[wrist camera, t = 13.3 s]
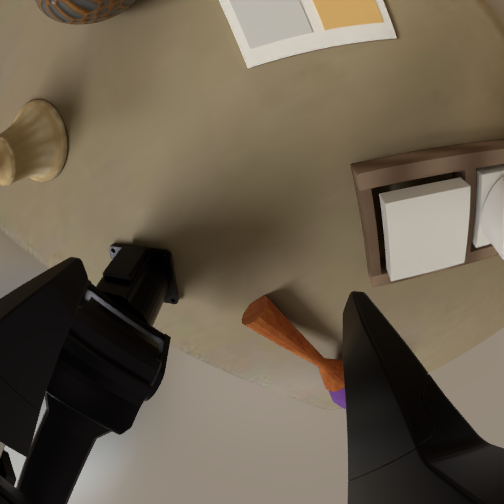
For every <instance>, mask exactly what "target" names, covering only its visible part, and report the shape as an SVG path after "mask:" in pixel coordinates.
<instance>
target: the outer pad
mask: <svg viewBox="0 0 504 504" xmlns="http://www.w3.org/2000/svg"><path fill="white" fill-rule="evenodd" d="M502 177H504V164H499V165H493V166H486V167H480V168H476V190H475V211H474V224H473V234H472V243H473V244H474V246H475V247H476V248H478V247H481V246H485V245H488V244H491V243H490V241H489V240H488V239H487V237H486V236H485V234H484V232H483V229H482V210H483V205H484V202H485V199H486V197H487V195H488V193H489V191H490V189H491V188H492V186H493V185H494V184H495V182H496V181H498V180H499V179H500V178H502Z"/></svg>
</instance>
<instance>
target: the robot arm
mask: <svg viewBox="0 0 504 504" xmlns="http://www.w3.org/2000/svg"><path fill="white" fill-rule="evenodd" d="M109 252H110V255H111V259H112V261H111V262H110V264H109V265H108V267H107V268H106V269H105V271H104V272H103V277H102V279H101V280H100V282H99V283H98V284H97V286H96V287H95V286H94V285H93V284H92V283H91V281H89V280H88V276H87V273H86V271H85V268H84V265H83V263H82V261H81V259H79V258H75V257H70V258H68V259H66V260H64V261H63V262H61V263H59V264H57V265H56V266H54V267H52V268H50V269H48V270H47V271H45V272H43V273H42V274H40V275H38V276H36V277H35V278H33V279H31V280H30V281H28V282H26V283H25V284H23V285H21V286H20V287H18V288H17V289H15V290H13V291H12V292H10V293H9V294H7V295H5V296H4V297H3V298H1V299H0V504H67V503H68V500H69V498H70V495H71V493H72V491H73V488H74V486H75V484H76V482H77V479H78V477H79V475H80V473H81V470H82V468H83V466H84V464H85V462H86V460H87V457H88V455H89V453H90V451H91V449H92V447H93V445H94V443H95V441H96V439H97V438H99V437H101V436H103V435H105V434H107V433H109V432H112V431H113V432H115V433H117V434H122V433H124V432H125V431H126V430H128V429H130V428H131V426H132V424H133V422H134V420H135V417H136V415H137V413H138V411H139V409H140V407H141V405H142V403H143V401H147V400H149V399H150V398H151V397H152V396H153V395H154V394H155V392H156V391H157V389H158V387H159V385H160V384H161V381H162V379H163V376H164V373H165V368H166V362H167V356H168V349H169V344H170V338H171V337H170V336H168V335H166V334H163V333H161V332H160V331H158V330H157V329H155V328H154V327H152V326H153V324H154V322H155V319H156V317H157V315H158V313H159V310H160V308H161V306H162V304H163V302H165V303H171V304H177V303H178V301H179V296H178V291H177V285H176V280H175V274H174V268H173V262H172V255H171V253H170V252H169V251H168V250H163V249H154V248H145V247H136V246H127V245H118V244H112V245H111V246H110V247H109ZM165 255H166V256H167V257H166V256H165ZM343 372H344V384H345V398H346V414H347V433H348V434H347V435H348V504H504V448H501V447H498V446H495V445H492V444H490V443H488V442H486V441H485V440H483V439H482V438H481V437H480V436H479V435H478V434H477V433H476V432H475V430H474V429H473V428H472V427H471V426H470V424H469V423H468V422H467V421H466V420H465V419H464V417H463V416H462V415H461V414H460V413H459V411H458V410H457V409H456V408H455V407H454V406H453V404H452V403H451V402H450V401H449V399H448V398H447V397H446V396H445V395H444V393H443V392H442V391H441V389H440V388H439V387H438V385H437V384H436V383H435V381H434V380H433V379H432V377H431V376H430V375H429V374H428V372H427V371H426V369H425V368H424V367H423V365H422V364H421V363H420V361H419V360H418V359H417V357H416V356H415V355H414V353H413V352H412V351H411V349H410V348H409V347H408V346H407V344H406V343H405V342H404V340H403V339H402V338H401V337H400V335H399V334H398V333H397V331H396V330H395V329H394V328H393V326H392V325H391V324H390V323H389V321H388V320H387V319H386V318H385V317H384V315H383V314H382V313H381V312H380V310H379V309H378V308H377V307H376V306H375V304H374V303H373V302H372V301H371V299H370V298H369V297H368V296H367V295H366V294H365V293H364V292H357V291H353V292H351V293H350V295H349V298H348V300H347V303H346V306H345V308H344V312H343ZM44 396H45V400H46V407H47V409H46V411H45V413H44V415H43V418H42V420H41V422H40V424H39V427H38V429H37V432H36V434H35V436H34V432H35V428H36V424H37V421H38V417H39V413H40V412H39V411H40V409H41V406H42V403H43V399H44ZM33 436H34V439H33ZM32 440H33V441H32ZM5 445H6V446H8V447H10V448H12V449H13V450H15V451H17V452H19V453H20V454H22V455H24V456H26V460H25V462H24V465H23V468H22V471H21V474H20V477H19V480H18V483H17V487H16V488H15V487H14V484H15V481H16V477H15V474H14V471H13V467H12V464H11V461H10V457H9V454H8V452H6V451H5V450H4V447H5Z"/></svg>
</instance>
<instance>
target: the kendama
mask: <svg viewBox="0 0 504 504" xmlns="http://www.w3.org/2000/svg"><path fill="white" fill-rule="evenodd" d="M242 323H243V324H244V325H246V326H247V327H249V328H251V329H252V330H254V331H256V332H257V333H259V334H261V335H263V336H264V337H266V338H268V339H269V340H271V341H273V342H275V343H276V344H278V345H280V346H282V347H284V348H285V349H287V350H289V351H291V352H293V353H294V354H296V355H298V356H300V357H302V358H303V359H305V360H307V361H309V362H311V363H313V364H315V365H317V366H318V368H319V371H320V374H321V376H322V379H323V382H324V385H325V387H326V389H327V390H329V392H330V395H331V397H332V399H333V402H335V403H336V404H338V405H339V406H341V407H343V408H345V409H346V398H345V384H344V372H343V360H340V359H326V358H323V356H322V355H321V354H320V353H319V352H318V351H317V350H316V349H315V348H314V347H313V346H312V345H311V344H310V343H309V342H308V341H307V340H306V338H305V337H304V336H303V335H302V334H301V333H300V332H299V331H298V330H297V329H296V328H295V327H294V326H293V325H292V323H291V322H290V321H289V320H288V319H287V318H286V317H285V316H284V315H283V314H282V313H281V312H280V311H279V309H278V308H277V307H276V306H275V305H274V304H273V303H272V302H271V301H270V300H269V299H268V298H267V296H262V297H260V298H259V299H257V300H256V301H254V302H253V303H251V304H250V305H249V306H248V308H247V309H246V311H245V312H244V314H243V317H242Z"/></svg>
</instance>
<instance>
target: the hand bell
mask: <svg viewBox="0 0 504 504" xmlns="http://www.w3.org/2000/svg"><path fill="white" fill-rule="evenodd" d="M67 148H68V145H67V135H66V129H65V126H64V123H63V120H62V118H61V116H60V114H59V113H58V111H57V110H56V109H55V108H54V107H53V106H52V105H51V104H50V103H48V102H46V101H44V100H33V101H30V102H28V103H27V104H25V105H24V106H23V107H22V109H21V110H20V111H19V112H18V114H17V116H16V118H15V120H14V123H13V124H12V125H11V126H10V127H9V128H8V129H7V130H5V131H4V132H2V133H1V134H0V185H3V186H7V185H10V184H12V183H14V182H16V181H18V180H20V179H23V178H31V179H33V180H35V181H40V182H47V181H50V180H52V179H54V178H55V177H56V176H58V174H59V173H60V172H61V170H62V168H63V166H64V164H65V161H66V156H67Z"/></svg>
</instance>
